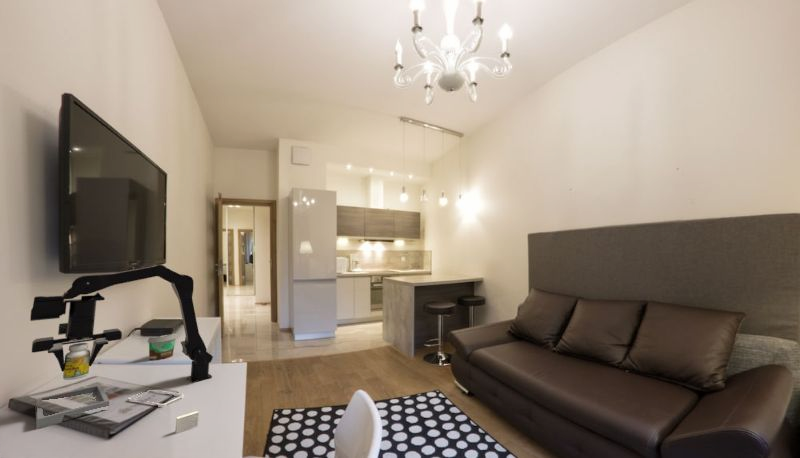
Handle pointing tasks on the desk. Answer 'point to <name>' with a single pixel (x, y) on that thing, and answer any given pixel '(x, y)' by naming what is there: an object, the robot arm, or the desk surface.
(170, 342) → the food container
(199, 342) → the robot arm
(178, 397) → the phone case
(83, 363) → the supplement bottle
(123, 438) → the desk surface
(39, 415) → the tray
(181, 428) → the eraser
